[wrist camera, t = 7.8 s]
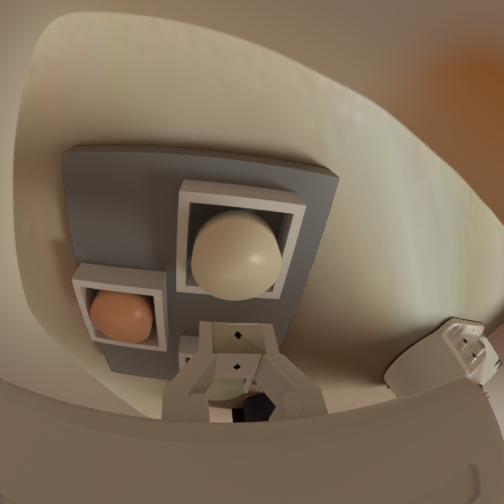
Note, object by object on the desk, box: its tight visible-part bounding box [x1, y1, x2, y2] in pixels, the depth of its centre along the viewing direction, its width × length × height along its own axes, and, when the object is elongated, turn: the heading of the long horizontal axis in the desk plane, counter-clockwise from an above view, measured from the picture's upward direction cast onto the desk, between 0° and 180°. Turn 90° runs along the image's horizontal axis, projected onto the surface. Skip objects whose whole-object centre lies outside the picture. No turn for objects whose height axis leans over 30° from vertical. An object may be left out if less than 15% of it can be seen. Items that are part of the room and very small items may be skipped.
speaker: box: [232, 393, 276, 423], centre depth 32 cm, size 8×6×10 cm
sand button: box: [191, 210, 282, 301], centre depth 16 cm, size 5×5×2 cm
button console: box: [62, 145, 339, 393], centre depth 21 cm, size 18×24×4 cm
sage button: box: [205, 378, 245, 401], centre depth 23 cm, size 5×5×2 cm
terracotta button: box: [90, 289, 155, 343], centre depth 19 cm, size 5×5×2 cm
